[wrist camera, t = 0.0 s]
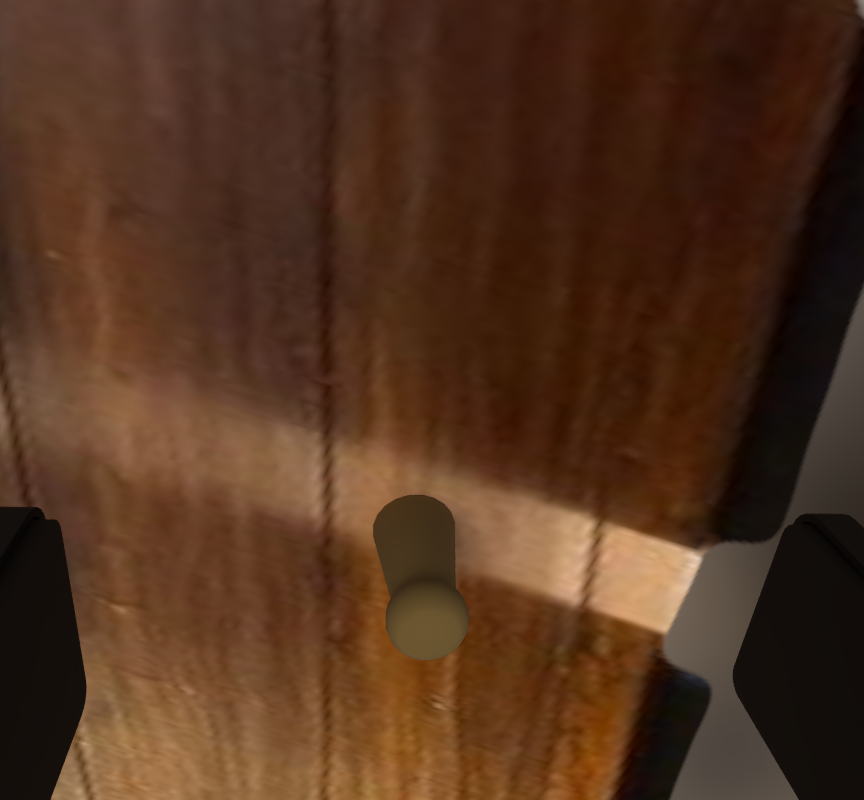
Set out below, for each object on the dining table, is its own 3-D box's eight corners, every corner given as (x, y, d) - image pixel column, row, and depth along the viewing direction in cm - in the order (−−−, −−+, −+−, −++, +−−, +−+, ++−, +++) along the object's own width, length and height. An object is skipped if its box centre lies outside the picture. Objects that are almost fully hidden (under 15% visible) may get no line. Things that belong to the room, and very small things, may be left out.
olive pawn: (429, 571, 57) (448, 686, 47) (358, 545, 55) (362, 659, 45) (469, 512, 54) (497, 619, 45) (396, 483, 53) (409, 588, 43)
